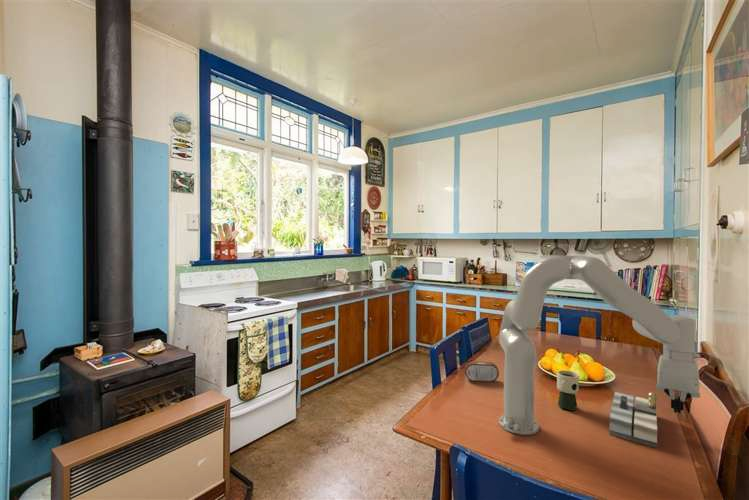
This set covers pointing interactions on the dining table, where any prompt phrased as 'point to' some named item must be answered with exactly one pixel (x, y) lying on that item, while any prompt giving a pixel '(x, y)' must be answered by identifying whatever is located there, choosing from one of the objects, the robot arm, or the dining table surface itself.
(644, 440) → the lock board
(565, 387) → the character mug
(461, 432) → the dining table surface
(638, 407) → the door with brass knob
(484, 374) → the tin
